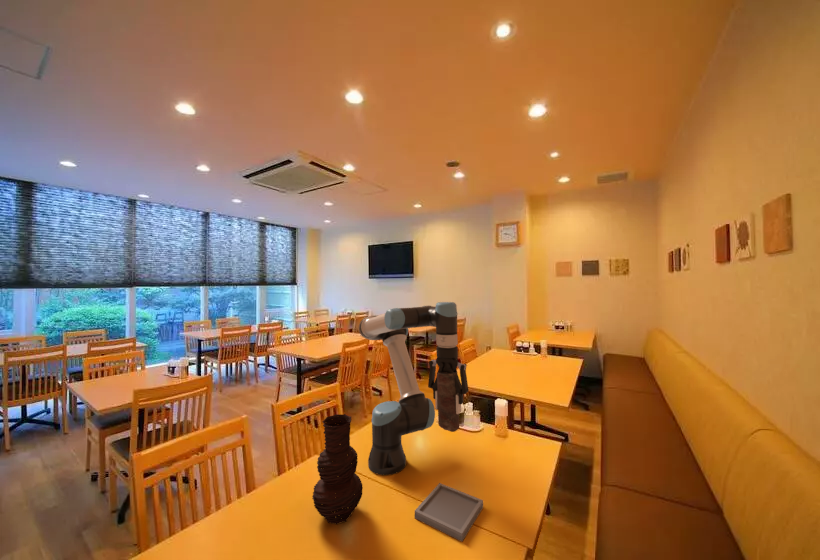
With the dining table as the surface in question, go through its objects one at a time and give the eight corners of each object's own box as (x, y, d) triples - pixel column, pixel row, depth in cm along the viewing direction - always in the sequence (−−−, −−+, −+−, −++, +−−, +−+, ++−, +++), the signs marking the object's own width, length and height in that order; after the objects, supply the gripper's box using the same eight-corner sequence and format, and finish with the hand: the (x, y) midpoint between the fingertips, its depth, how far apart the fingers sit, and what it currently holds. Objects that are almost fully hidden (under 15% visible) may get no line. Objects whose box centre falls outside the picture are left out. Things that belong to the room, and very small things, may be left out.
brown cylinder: (435, 430, 110) (434, 373, 110) (440, 421, 117) (439, 367, 117) (457, 433, 107) (456, 374, 107) (461, 424, 114) (460, 369, 114)
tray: (414, 518, 98) (414, 510, 98) (439, 489, 111) (439, 482, 111) (462, 541, 89) (462, 533, 89) (483, 507, 102) (483, 500, 102)
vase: (321, 497, 108) (320, 409, 108) (366, 498, 107) (365, 409, 107) (305, 534, 92) (303, 431, 92) (357, 534, 92) (356, 431, 92)
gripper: (417, 345, 114) (418, 408, 114) (470, 350, 104) (471, 420, 103) (427, 341, 121) (428, 401, 121) (478, 346, 110) (479, 412, 110)
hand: (448, 410), depth 112 cm, fingers closed on brown cylinder, 7 cm apart
